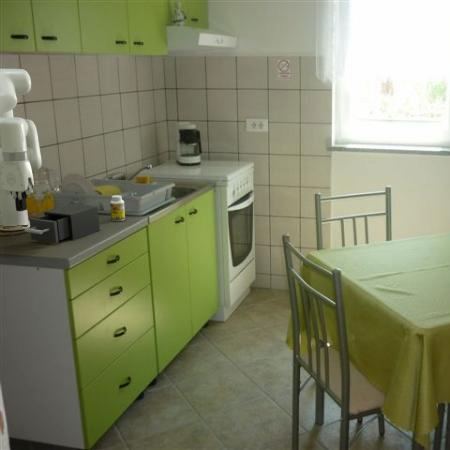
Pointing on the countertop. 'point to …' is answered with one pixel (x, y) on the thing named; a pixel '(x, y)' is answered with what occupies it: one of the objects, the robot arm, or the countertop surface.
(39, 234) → the drawer
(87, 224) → the dark grey box
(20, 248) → the countertop surface
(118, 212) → the supplement bottle
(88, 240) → the countertop surface
